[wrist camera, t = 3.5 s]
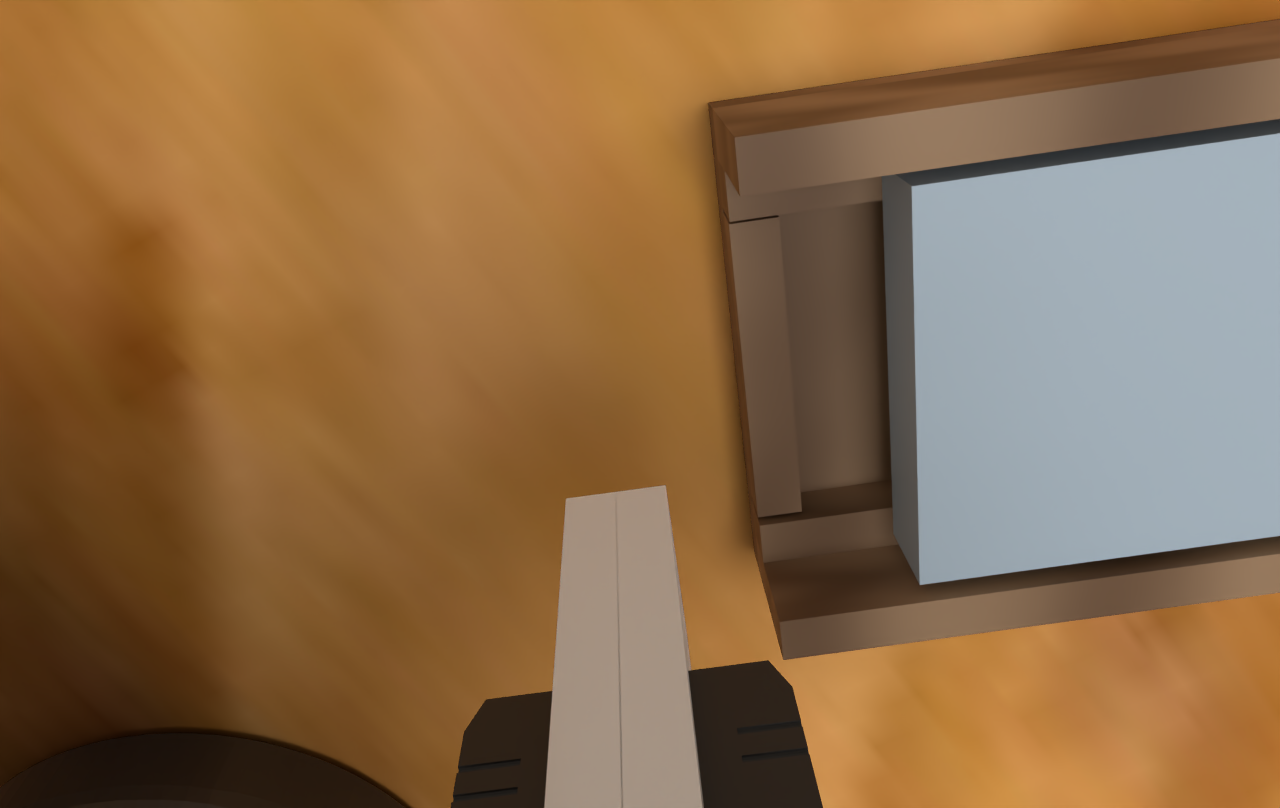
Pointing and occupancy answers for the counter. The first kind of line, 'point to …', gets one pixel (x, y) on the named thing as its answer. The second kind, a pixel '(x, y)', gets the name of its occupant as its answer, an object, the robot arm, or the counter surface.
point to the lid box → (857, 330)
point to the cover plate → (1085, 352)
